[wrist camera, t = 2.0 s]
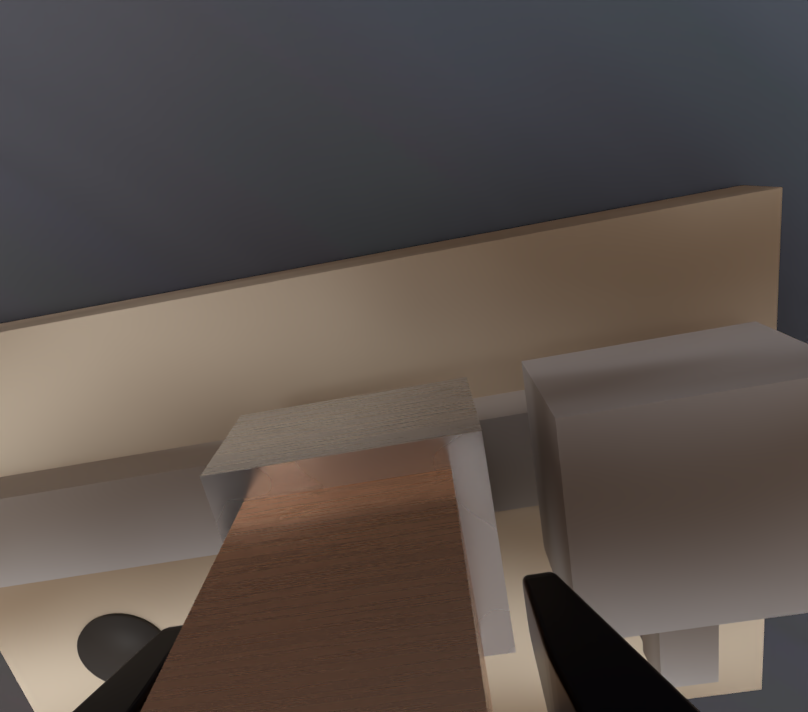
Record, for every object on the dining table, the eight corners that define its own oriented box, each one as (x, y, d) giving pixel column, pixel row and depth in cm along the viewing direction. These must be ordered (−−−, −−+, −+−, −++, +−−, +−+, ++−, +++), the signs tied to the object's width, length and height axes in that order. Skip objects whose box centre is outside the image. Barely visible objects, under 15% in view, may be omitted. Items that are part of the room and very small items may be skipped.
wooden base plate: (733, 648, 14) (870, 848, 10) (95, 733, 16) (-22, 945, 11) (742, 185, 11) (968, 196, 6) (-107, 343, 12) (-399, 442, 7)
